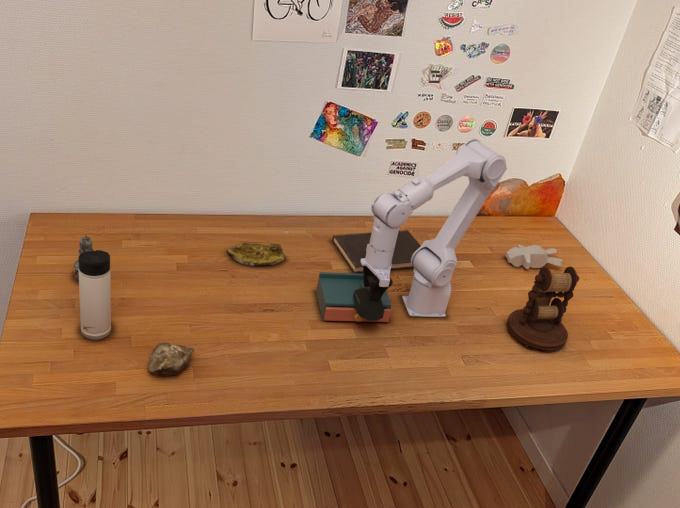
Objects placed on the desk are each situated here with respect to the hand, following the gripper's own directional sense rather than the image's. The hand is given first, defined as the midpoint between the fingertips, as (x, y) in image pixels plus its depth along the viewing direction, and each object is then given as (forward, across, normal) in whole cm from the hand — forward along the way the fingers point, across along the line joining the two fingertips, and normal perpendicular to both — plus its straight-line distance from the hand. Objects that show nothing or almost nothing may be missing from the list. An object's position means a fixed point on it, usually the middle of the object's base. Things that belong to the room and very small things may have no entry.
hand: (370, 294), depth 174 cm
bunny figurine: (+9, -28, +55) cm, 62 cm away
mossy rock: (+9, -27, -24) cm, 37 cm away
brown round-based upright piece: (+9, +4, +43) cm, 44 cm away
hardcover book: (+9, -30, +11) cm, 33 cm away
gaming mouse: (+3, 0, -1) cm, 3 cm away
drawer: (+8, -4, -2) cm, 9 cm away
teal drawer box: (+8, -6, -2) cm, 11 cm away
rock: (+8, +16, -45) cm, 49 cm away
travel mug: (+8, +5, -61) cm, 62 cm away
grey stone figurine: (+8, -15, -65) cm, 67 cm away
